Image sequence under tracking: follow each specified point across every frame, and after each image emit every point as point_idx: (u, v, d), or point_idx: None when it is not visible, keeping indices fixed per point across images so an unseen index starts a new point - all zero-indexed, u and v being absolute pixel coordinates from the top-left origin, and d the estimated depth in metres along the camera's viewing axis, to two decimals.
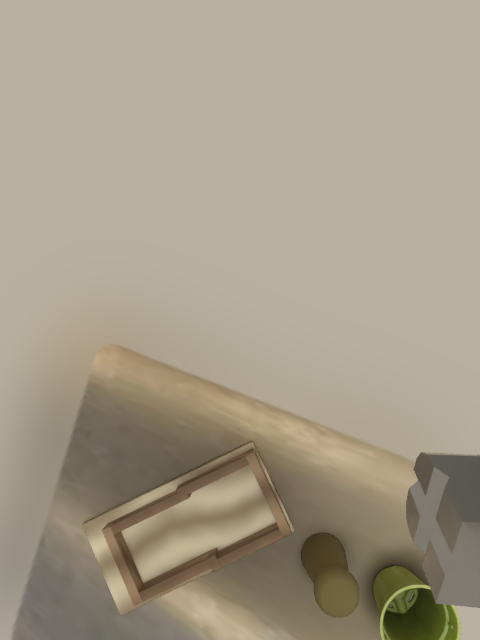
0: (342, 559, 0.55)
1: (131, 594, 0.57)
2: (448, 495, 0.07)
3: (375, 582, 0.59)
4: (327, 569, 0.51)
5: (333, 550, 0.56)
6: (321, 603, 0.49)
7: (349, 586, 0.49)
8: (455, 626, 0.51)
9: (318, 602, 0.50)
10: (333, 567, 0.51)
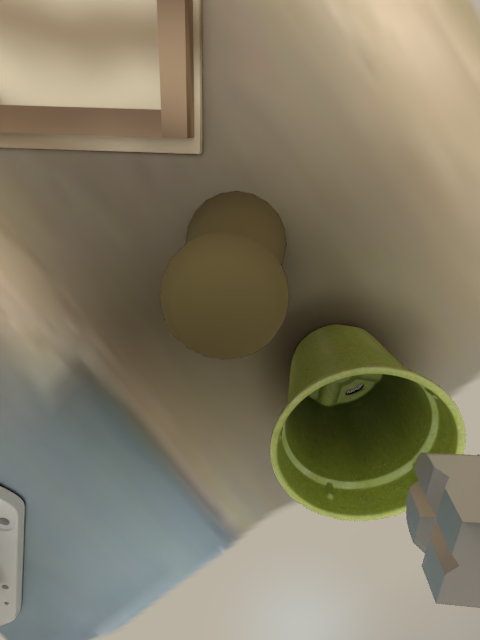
0: (276, 252, 0.21)
1: None
2: (448, 495, 0.07)
3: (309, 337, 0.28)
4: (231, 233, 0.17)
5: (267, 227, 0.22)
6: (168, 300, 0.17)
7: (266, 298, 0.16)
8: None
9: (162, 296, 0.17)
10: (248, 237, 0.17)
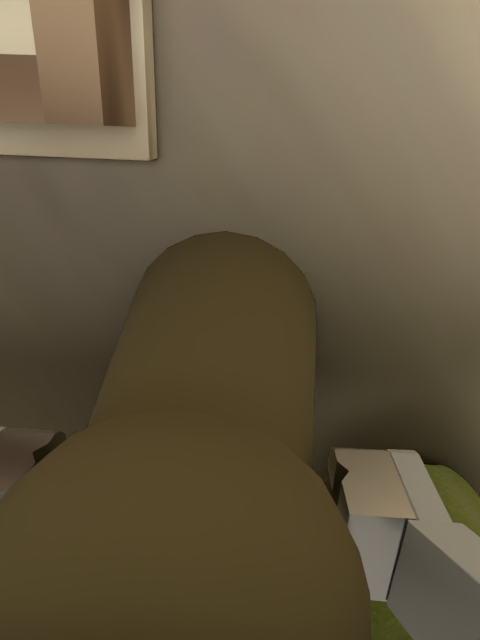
0: (309, 388, 0.09)
1: None
2: (343, 488, 0.07)
3: None
4: (183, 447, 0.05)
5: (287, 326, 0.10)
6: None
7: None
8: None
9: None
10: (242, 457, 0.05)
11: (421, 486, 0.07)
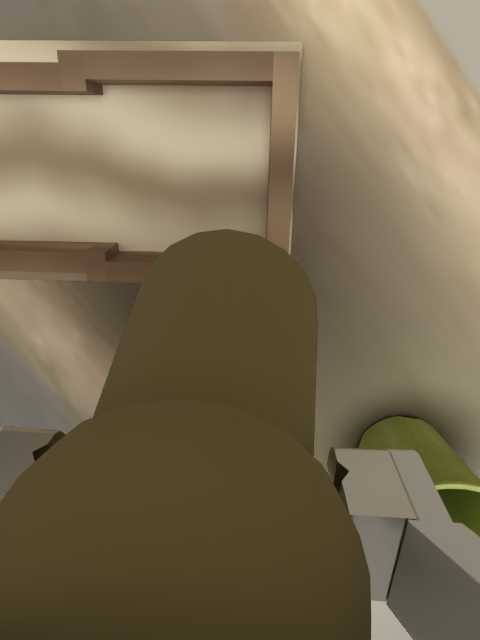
0: (310, 382, 0.09)
1: None
2: (343, 488, 0.07)
3: (376, 429, 0.31)
4: (189, 432, 0.05)
5: (289, 321, 0.10)
6: None
7: None
8: None
9: None
10: (247, 443, 0.05)
11: (421, 486, 0.07)
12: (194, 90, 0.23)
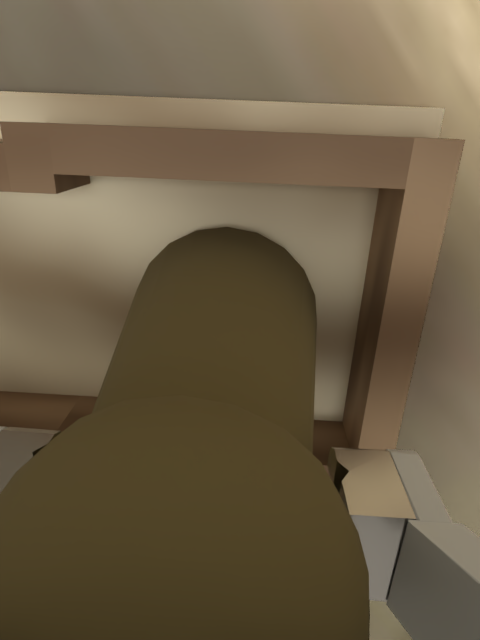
0: (309, 379, 0.09)
1: None
2: (343, 489, 0.07)
3: None
4: (187, 428, 0.05)
5: (288, 318, 0.10)
6: None
7: None
8: None
9: None
10: (244, 439, 0.05)
11: (421, 486, 0.07)
12: None
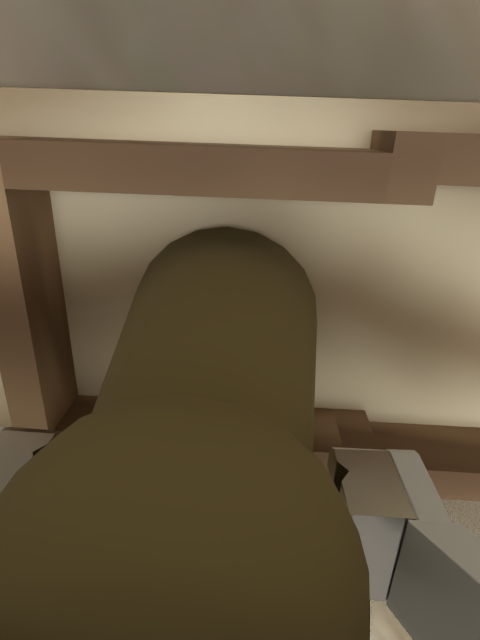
0: (310, 379, 0.09)
1: None
2: (343, 489, 0.07)
3: None
4: (187, 428, 0.05)
5: (288, 318, 0.10)
6: None
7: None
8: None
9: None
10: (245, 438, 0.05)
11: (421, 486, 0.07)
12: None
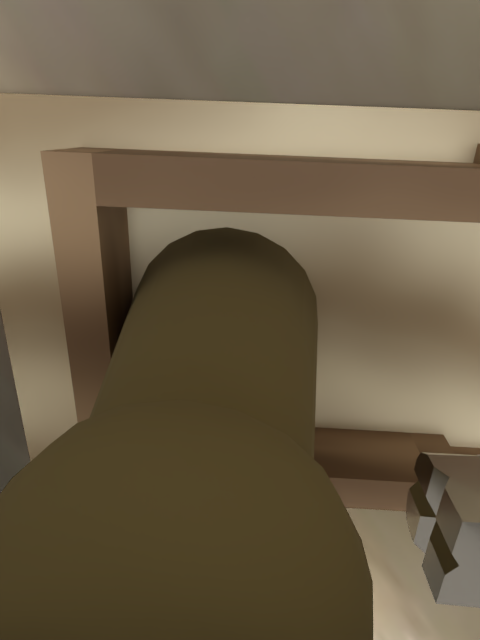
0: (311, 382, 0.09)
1: None
2: (448, 495, 0.07)
3: None
4: (185, 435, 0.05)
5: (289, 320, 0.10)
6: None
7: None
8: None
9: None
10: (245, 445, 0.05)
11: None
12: None
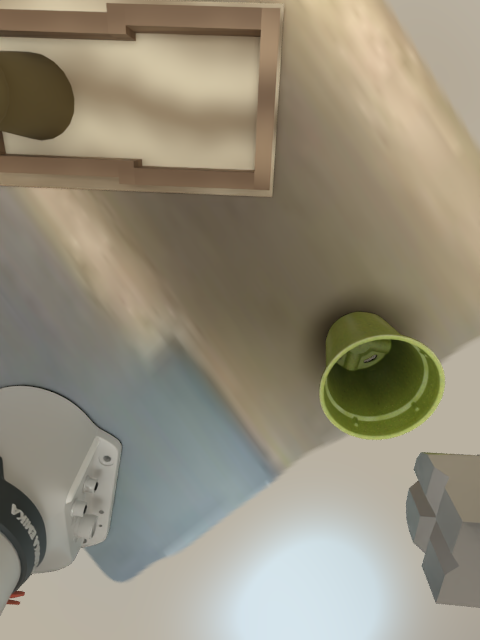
0: (30, 79, 0.28)
1: None
2: (448, 495, 0.07)
3: (340, 320, 0.40)
4: None
5: (28, 64, 0.29)
6: None
7: None
8: (423, 410, 0.35)
9: None
10: None
11: None
12: (203, 38, 0.31)
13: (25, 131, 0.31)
